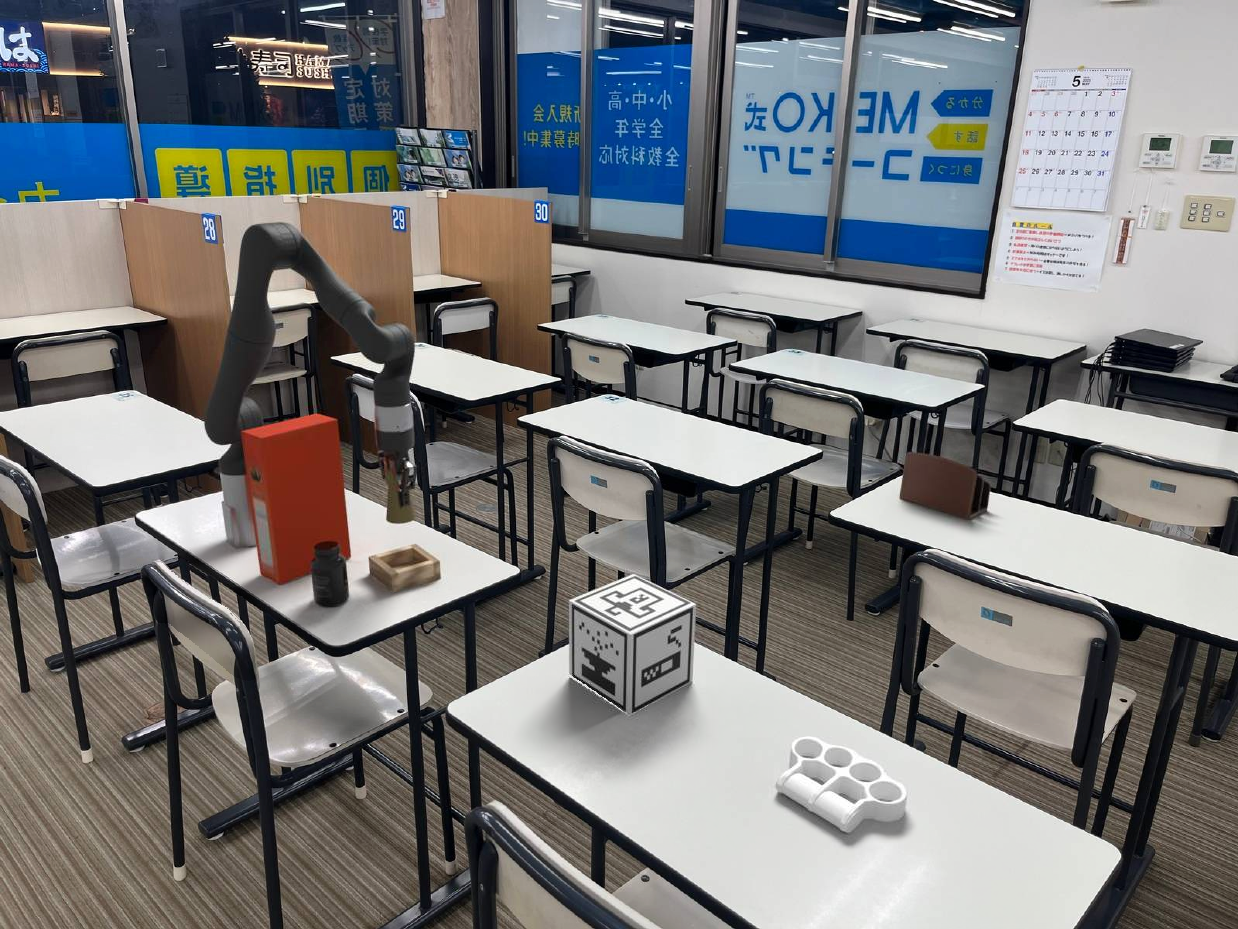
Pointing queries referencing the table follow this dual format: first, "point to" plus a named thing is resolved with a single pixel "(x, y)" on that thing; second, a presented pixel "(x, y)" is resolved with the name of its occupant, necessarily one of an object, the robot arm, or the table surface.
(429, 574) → the oak holder
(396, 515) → the olive knobbed tapered cylinder
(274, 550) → the file binder
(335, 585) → the supplement bottle
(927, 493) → the letter holder
